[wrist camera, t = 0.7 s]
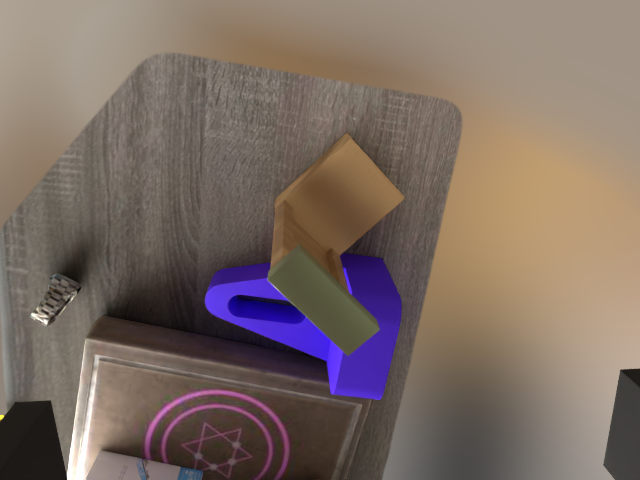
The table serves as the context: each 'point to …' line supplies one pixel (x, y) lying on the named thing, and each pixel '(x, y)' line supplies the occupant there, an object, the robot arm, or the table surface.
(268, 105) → the table surface
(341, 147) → the two-tone angled block
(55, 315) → the wristwatch
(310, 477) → the book
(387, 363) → the bracket
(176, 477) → the ink box
